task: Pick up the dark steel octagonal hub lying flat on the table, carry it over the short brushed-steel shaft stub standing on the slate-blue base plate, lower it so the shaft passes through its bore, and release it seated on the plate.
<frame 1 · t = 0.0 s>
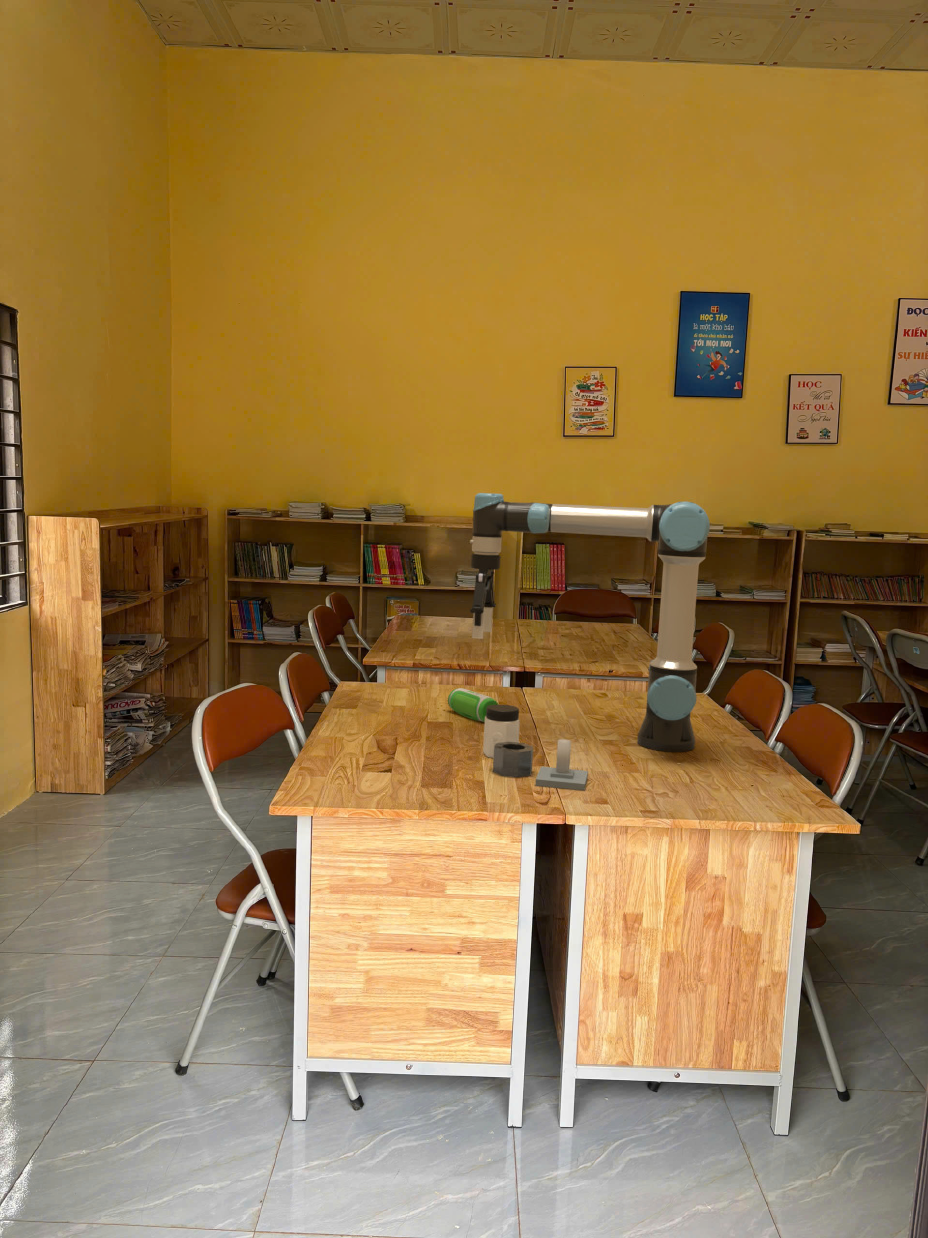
hand: (482, 635, 256), 28 cm above the table, fingers open, 13 cm apart
hub: (512, 771, 231), on the table
jar: (500, 755, 245), on the table
speaker: (472, 718, 286), on the table
shaft stand: (562, 781, 225), on the table
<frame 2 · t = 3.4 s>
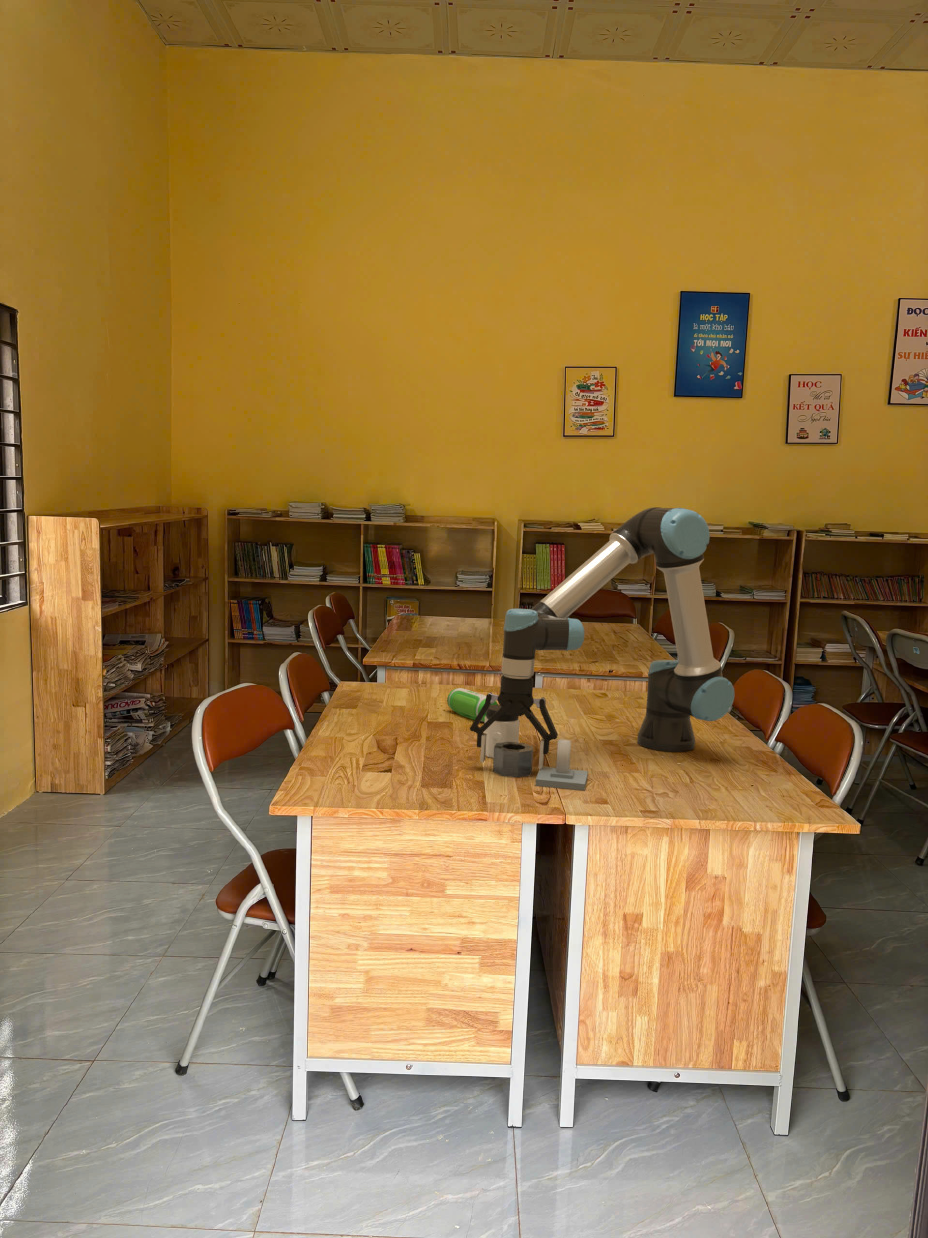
hand: (511, 764, 230), 2 cm above the table, fingers open, 13 cm apart
nothing on the table moved.
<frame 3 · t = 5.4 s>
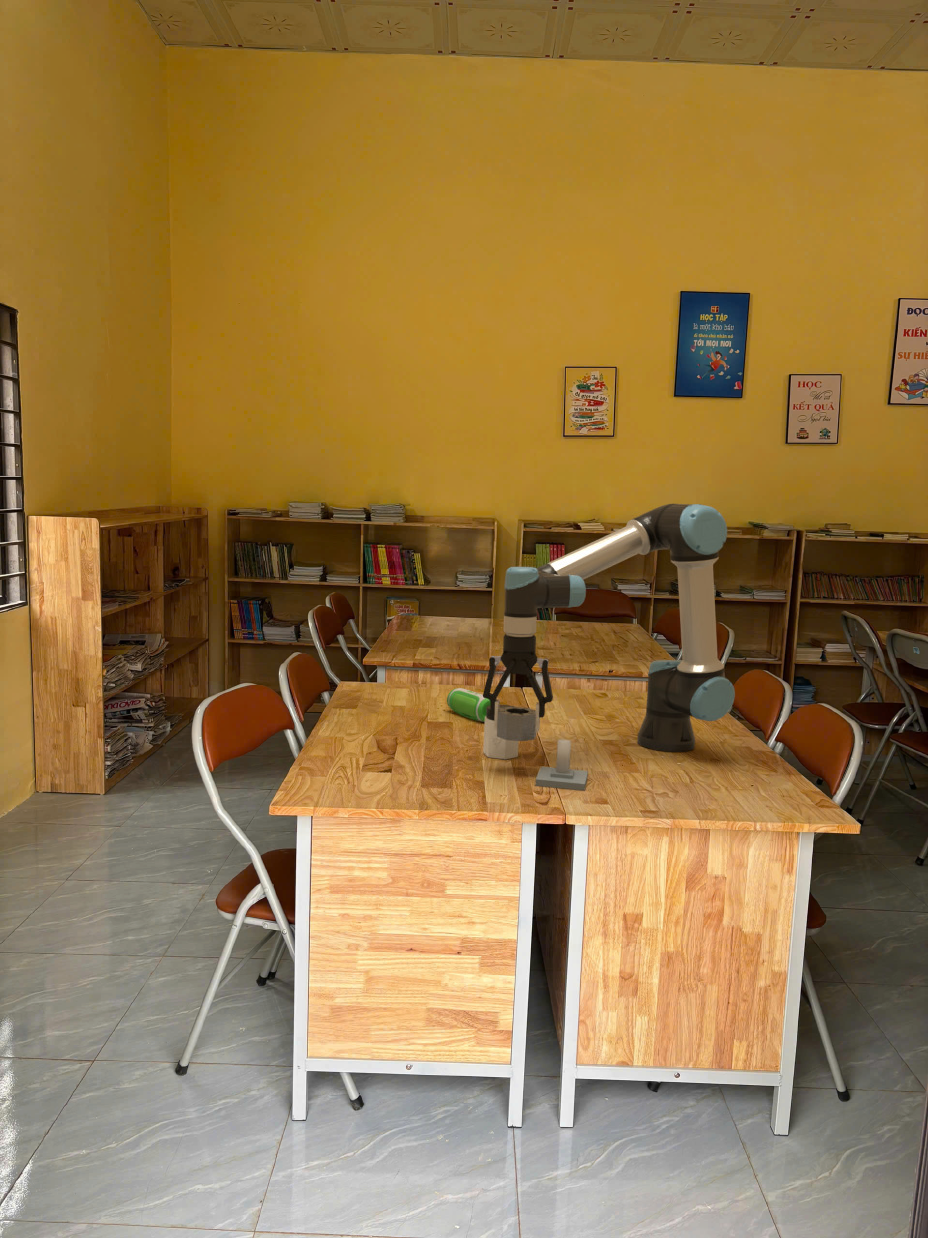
hand: (516, 729, 230), 10 cm above the table, fingers closed on hub, 9 cm apart
hub: (516, 736, 230), point 9 cm above the table, touching gripper
everything else where it was.
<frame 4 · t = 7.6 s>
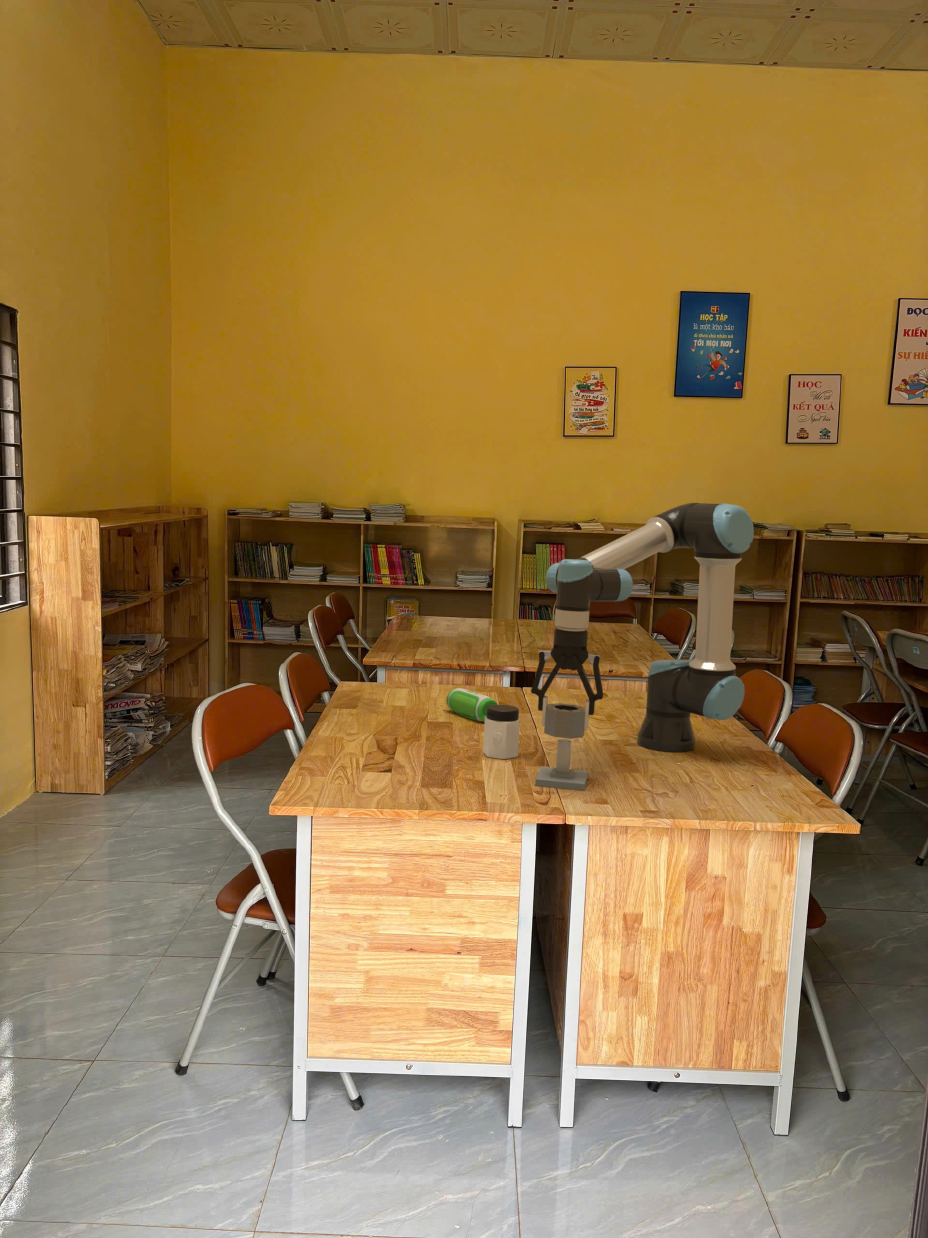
hand: (564, 726, 223), 13 cm above the table, fingers closed on hub, 9 cm apart
hub: (564, 733, 223), point 11 cm above the table, touching gripper
everything else where it was.
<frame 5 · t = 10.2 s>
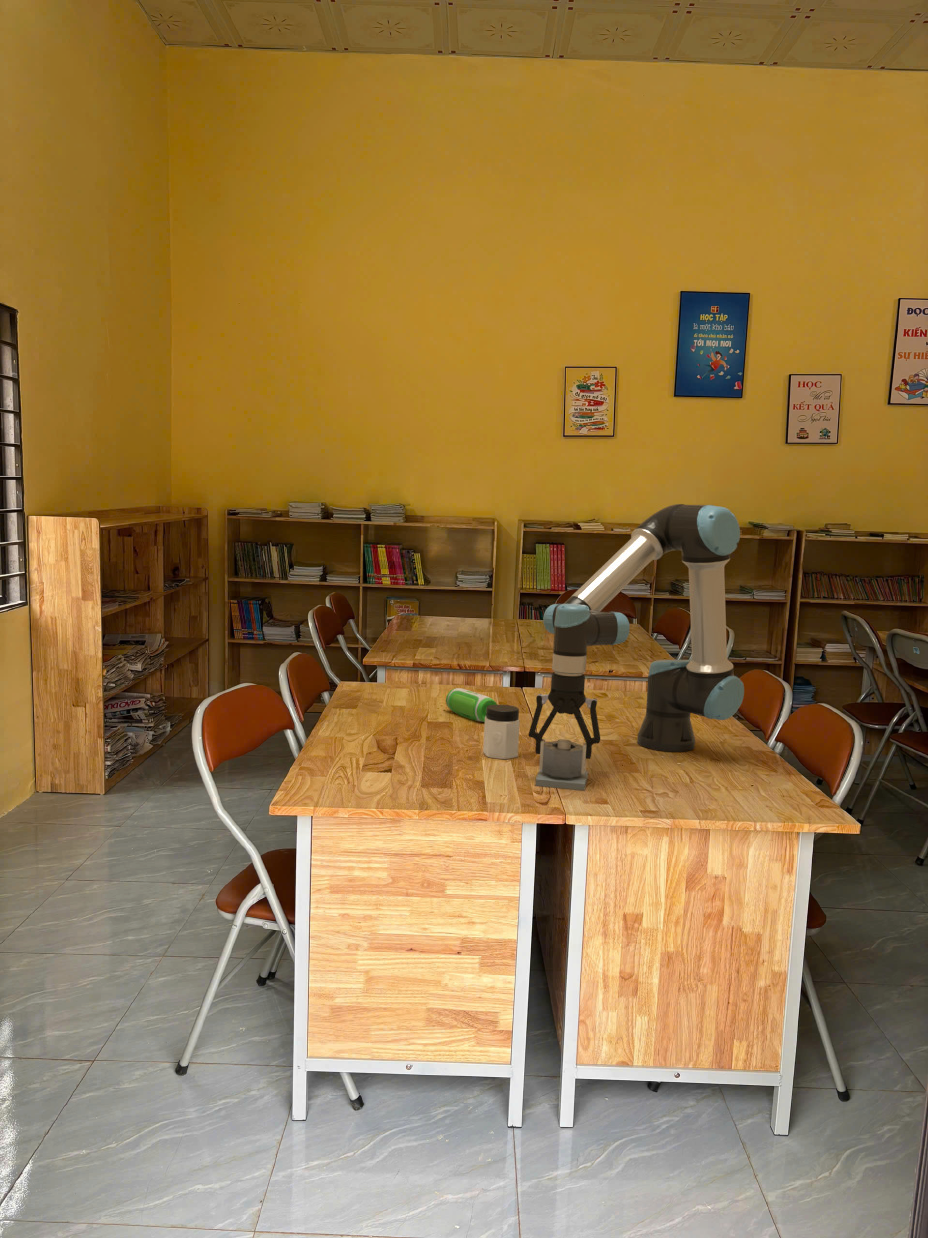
hand: (562, 770, 224), 3 cm above the table, fingers closed on hub, 9 cm apart
hub: (562, 771, 224), point 2 cm above the table, touching gripper, shaft stand
everything else where it was.
when the fingers open (3 cm above the table, at t = 10.8 s): hub stays where it is, resting on shaft stand.
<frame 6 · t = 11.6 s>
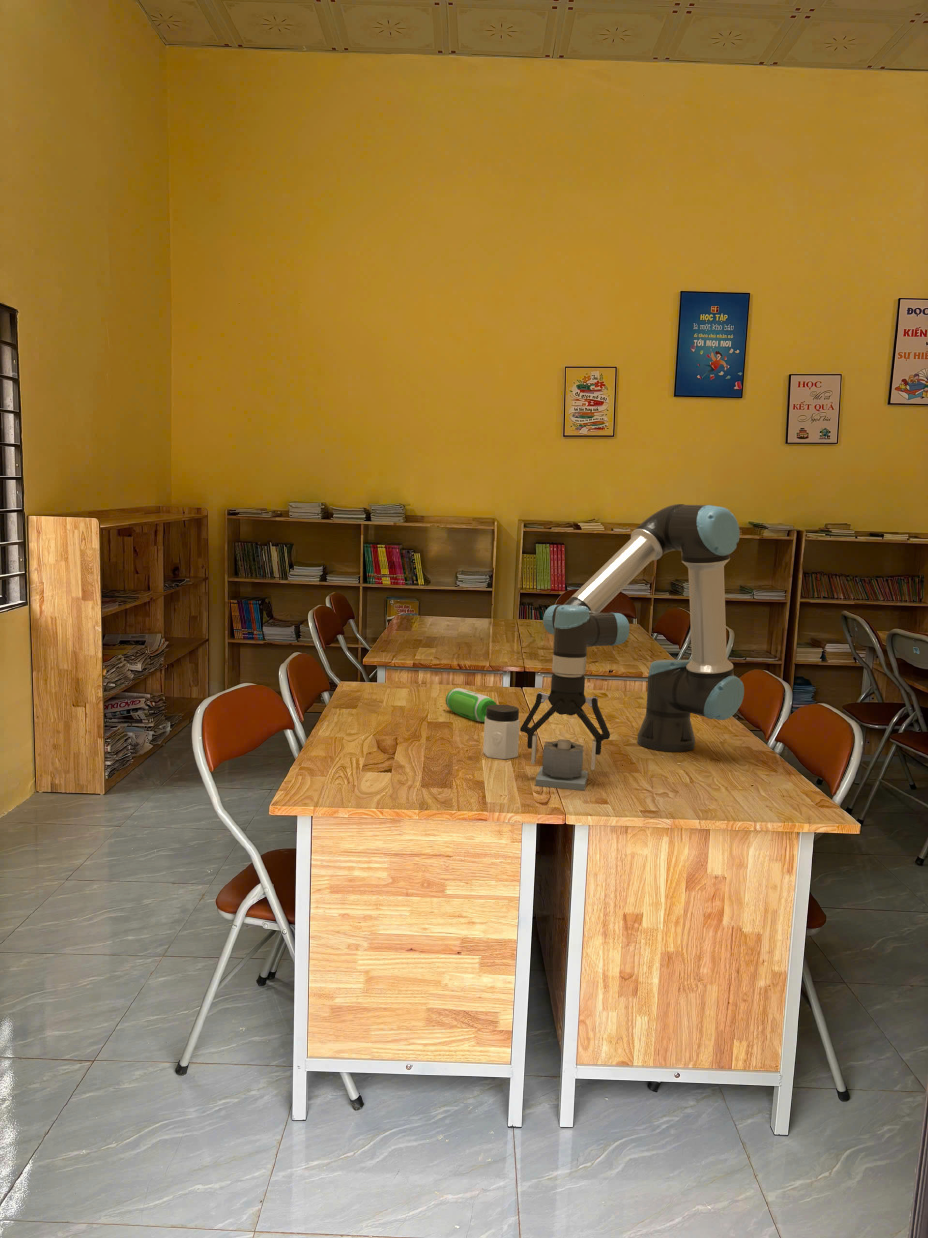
hand: (562, 765, 224), 4 cm above the table, fingers open, 13 cm apart
hub: (562, 771, 224), point 2 cm above the table, touching shaft stand
everything else where it was.
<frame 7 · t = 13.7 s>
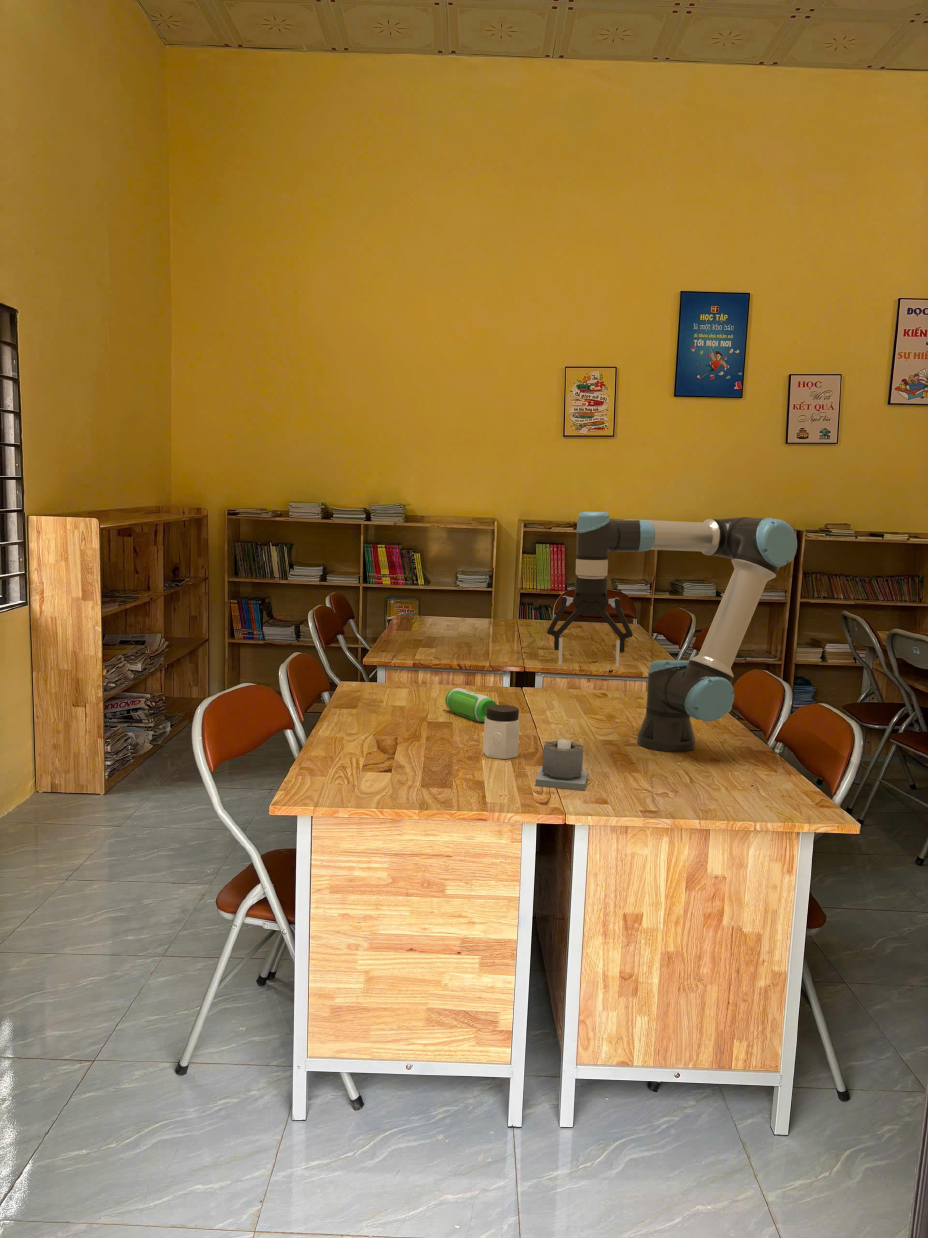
hand: (588, 665, 236), 25 cm above the table, fingers open, 13 cm apart
nothing on the table moved.
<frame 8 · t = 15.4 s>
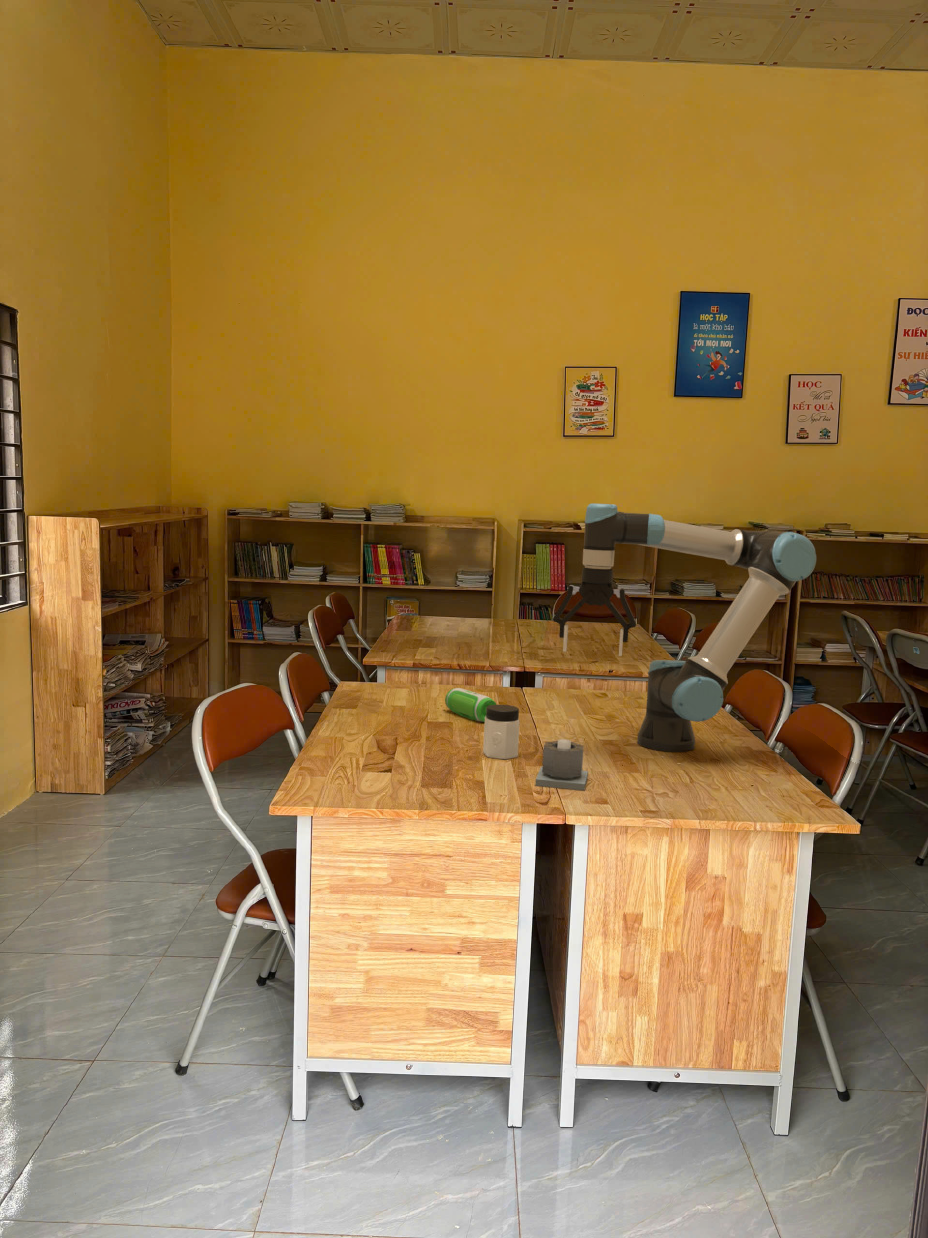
hand: (592, 653, 242), 27 cm above the table, fingers open, 13 cm apart
nothing on the table moved.
at the end: hub 0.1 cm off-centre on the shaft stand, point 2.3 cm above the shaft stand's base; hub tilted 0°; the gripper is holding nothing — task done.
